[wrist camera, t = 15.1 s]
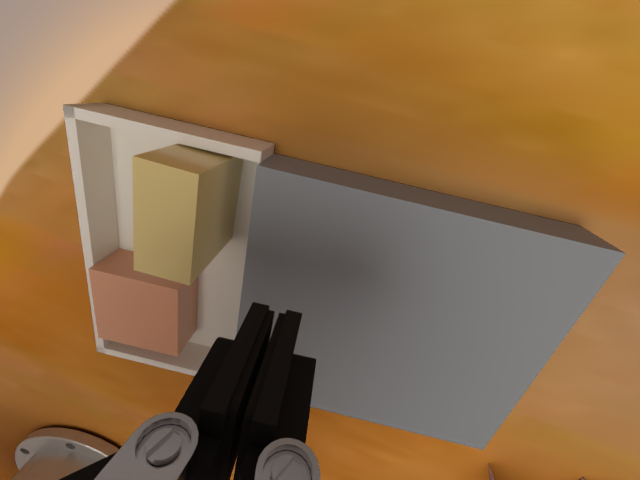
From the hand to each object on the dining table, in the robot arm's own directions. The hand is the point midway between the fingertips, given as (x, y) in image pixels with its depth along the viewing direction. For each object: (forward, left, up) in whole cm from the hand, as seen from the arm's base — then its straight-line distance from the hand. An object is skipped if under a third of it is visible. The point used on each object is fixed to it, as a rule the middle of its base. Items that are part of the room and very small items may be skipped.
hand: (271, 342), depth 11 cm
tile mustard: (+2, +4, -5) cm, 7 cm away
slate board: (-3, -5, -8) cm, 10 cm away
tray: (-3, +7, -8) cm, 11 cm away
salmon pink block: (-6, +9, -5) cm, 12 cm away
